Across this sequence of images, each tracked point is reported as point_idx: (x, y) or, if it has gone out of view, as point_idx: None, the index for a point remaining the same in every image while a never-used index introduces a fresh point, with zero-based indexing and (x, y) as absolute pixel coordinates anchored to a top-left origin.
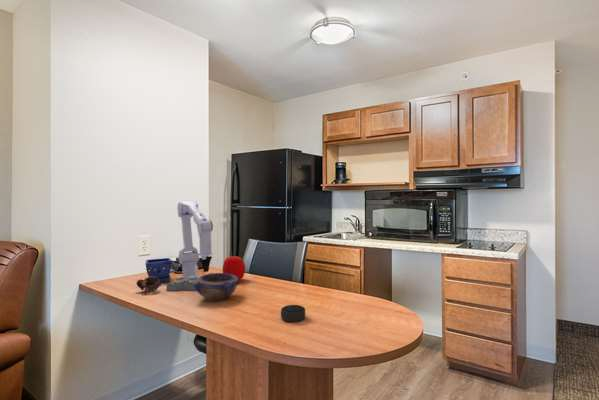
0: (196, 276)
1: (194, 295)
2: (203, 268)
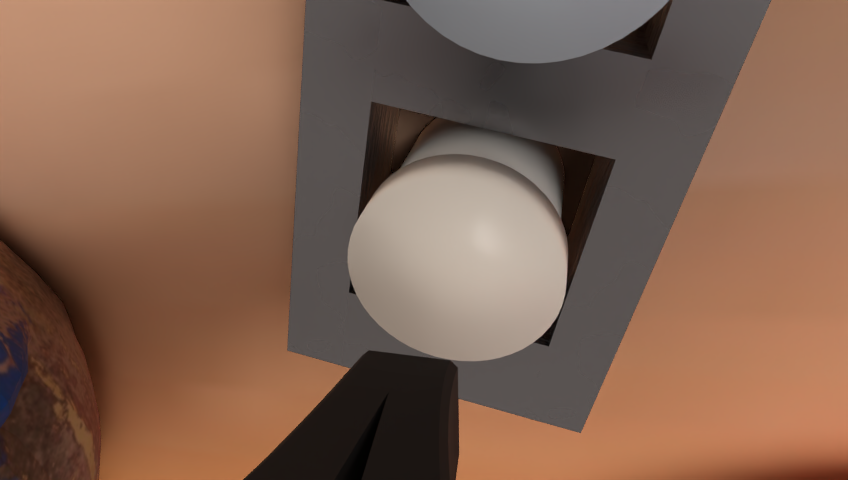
0: (486, 30)
1: (24, 4)
2: (298, 432)
